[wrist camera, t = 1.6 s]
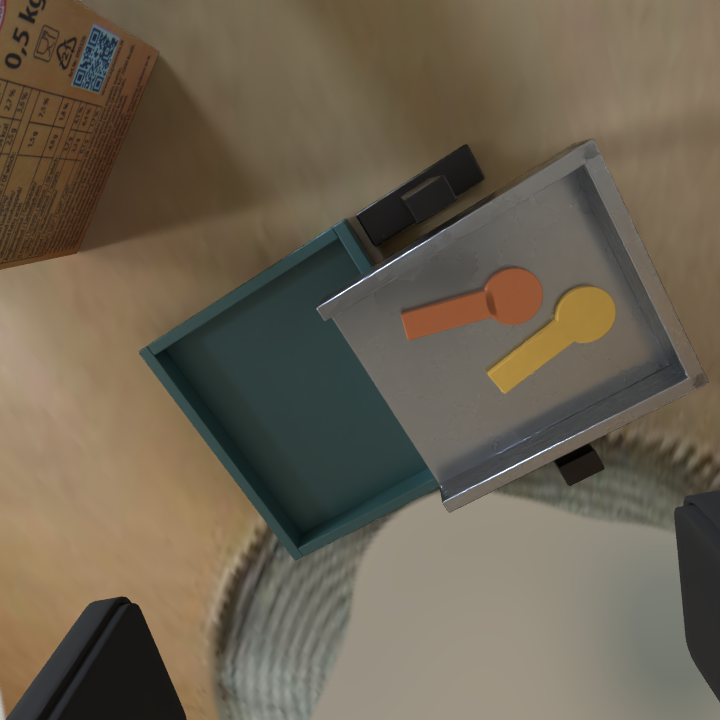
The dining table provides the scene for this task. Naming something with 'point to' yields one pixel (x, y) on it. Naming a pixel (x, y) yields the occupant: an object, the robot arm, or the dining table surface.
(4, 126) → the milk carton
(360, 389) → the tray
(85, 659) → the robot arm
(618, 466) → the dining table surface
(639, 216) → the dining table surface
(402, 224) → the dish cradle
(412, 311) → the copper key
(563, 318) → the brass key
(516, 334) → the key dish
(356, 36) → the dining table surface
